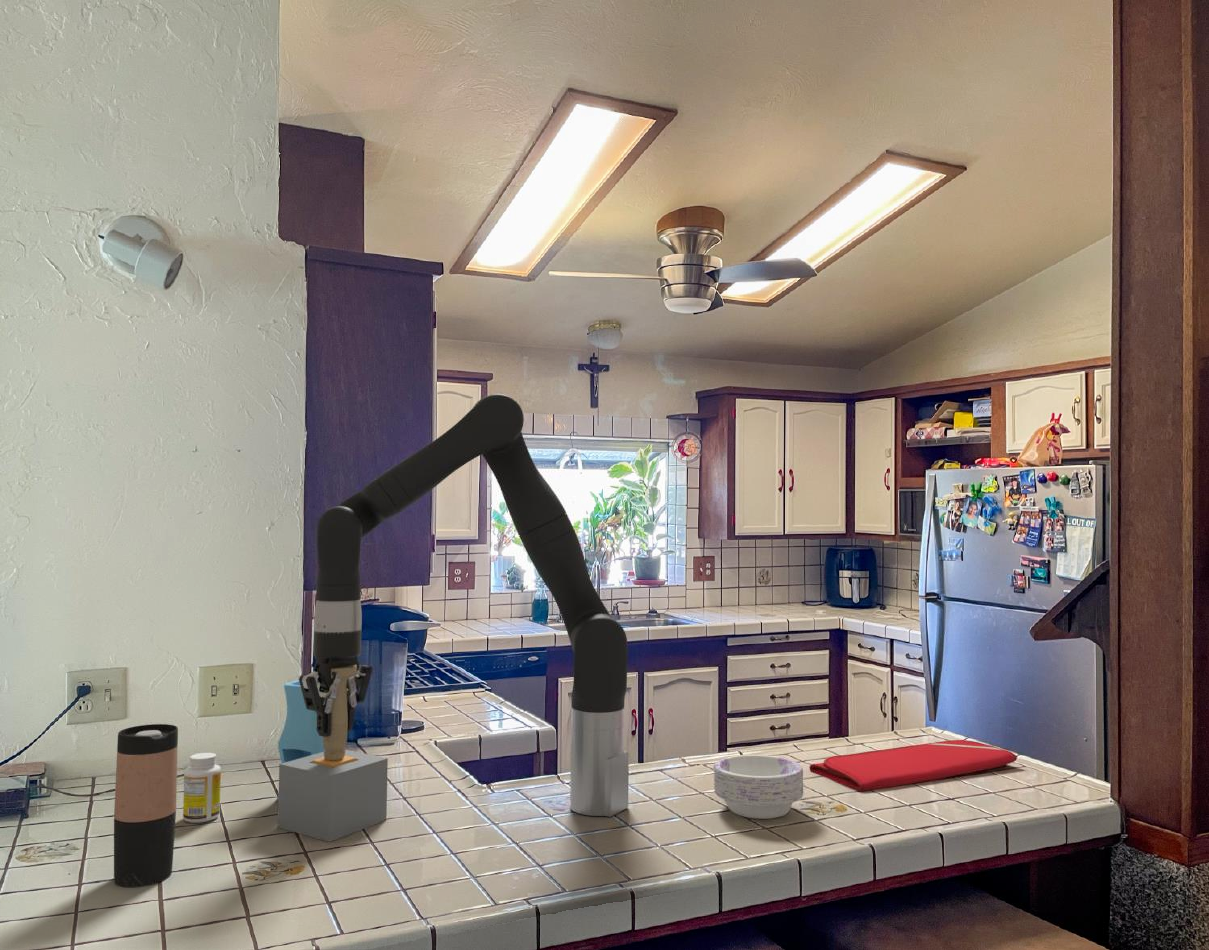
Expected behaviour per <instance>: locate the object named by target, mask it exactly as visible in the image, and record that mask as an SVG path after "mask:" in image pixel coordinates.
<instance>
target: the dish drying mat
mask: <svg viewBox="0 0 1209 950" xmlns="http://www.w3.org/2000/svg"><path fill="white" fill-rule="evenodd" d="M1017 759H1018V756H1017V755H1016V754H1015V753H1014V752H1012V751H1010V750H1006V749H1004V748H1002V747H1001V748H1000V747H997V746H993V745H991V744H987V743H983V742H980V741H979V742H978V741H975V740H974V741H973V740H969V739H968V740H967V739H953V740H950V739H949V740H943V741H935V742H929V743H922V744H913V745H908V746H907V745H906V746H901V747H893V748H888V749H880V750H879V749H878V750H872V751H866V752H859V753H858V752H857V753H851V754H844V755H834V756H829V757H827V758H824V761H823V762H820V763H812V764H810V765H809V771H810V772H811V773H814V774H817V775H819V776H822V777H824V778H827V779H829V780H831V781H833V782H836V783H838V784H841V785H842V786H843V785H844V786H845V787H848V788H850V789H853V790H854V791H856V792H864V791H873V790H879V789H885V788H891V787H893V788H894V787H899V786H904V785H911V784H915V783H922V782H928V781H935V780H939V779H944V778H945V779H946V778H950V777H954V776H959V775H965V774H970V773H975V772H979V771H986V770H992V769H995V768H998V767H1003V766H1006V765H1010V764H1012V763H1014V762H1017Z"/></svg>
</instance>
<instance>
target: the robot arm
mask: <svg viewBox="0 0 1209 950" xmlns="http://www.w3.org/2000/svg"><path fill="white" fill-rule="evenodd" d="M524 419H525V418H524V412H523V409H522V407H521V405H520V404H519V403H518V402H517V401H516V400H515V399H514V398H513V397H511V396H508V395H505V394H502V393H495V394H489V395H486V396H483V397H482V398H481V399H479V400H478V401H477V402H476V403H475V404H474V405H473V407H472V409H470V410H469V411H468V412H467V413H466V414H465V415H463V417H462V418H461V419H460V420H459V421H457V423H455V424H454V425H453V426H452V427H450V428H449V429H448V430H447V431H446V432H444V433H442V434H441V435H440V436H439V437H437V438H436V439H435V440H433V441H431V442H430V443H429V444H427V445H425V446H424V447H421V449H419V450H417V451H415V452H414V453H413V454H411V455H409V456H408V457H406V458H404V459H403V460H402V461H400V462H398V463H397V464H395V465H393V466H392V467H391V468H389V469H387V470H385V471H384V472H383V473H381V474H380V475H378V476H377V477H376V478H374V479H373V480H371V481H370V482H368V483H367V484H365V486H364V487H363V488H362V489H361V490H360V491H359V492H358V491H357V492H356V493H355V494H353V495H352V496H350V497H348V498H347V499H345V500H343V501H342V502H340V503H338V504H337V505H335V506H333V507H330V508H328V509H326V510H325V511H324V512H322V514H321V515H320V516H319V519H318V521H317V525H316V549H317V550H316V553H317V564H318V565H317V578H316V593H315V594H316V595H315V596H316V598H315V599H316V600H315V601H316V602H315V608H314V617H313V620H314V621H313V653H312V654H313V656H314V658H315V665H314V668H313V671H312V672H311V673H309V674H307V675H305V674H301V675H300V676H299V678H298V680H299V682H300V686H301V690H302V694H303V697H304V701H305V705H306V708H307V709H308V710H312V711H315V712H316V713H317V733H318V734H319V736H323V737H328V736H330V735H331V713H330V711H331V708H332V703H333V700H334V699H335V698H336V695H337V690H338V686H339V682H340V680H341V678H339V677H338V671H337V672H332V676H333V678H331V669H333V668H339V667H345V666H350V665H357V672H356V674H355V675H353V676H352V677H350V678H349V679H348V680H347V713H348V730H347V731H348V732H350V731H352V730H353V728H354V725H355V708H356V707H357V705H358V704H359V703H363V702H364V701H365V699H366V697H367V696H366V695H367V692H368V687H369V684H370V679H371V677H372V673H373V667H372V666H369V665H363V664H360V661H359V659H358V658H359V656H361V654H362V624H363V622H362V620H363V619H362V618H363V616H362V615H363V614H362V613H363V611H362V604H361V599H362V598H361V596H362V595H361V594H362V593H361V592H362V589H361V588H362V587H361V586H362V578H361V577H362V576H361V570H360V569H361V568H360V560H361V559H360V557H361V545H362V544H361V542H362V541H361V540H362V539H363V537H365V536H366V535H368V534H369V533H371V532H372V531H373V530H374V529H376V528H377V527H378V526H379V525H381V524H382V523H384V522H386V521H387V520H389V519H391V518H393V517H395V516H397V515H398V514H400V513H402V511H404V510H406V509H407V508H409V507H410V506H411V505H413V504H414V503H415V502H417V501H419V500H420V499H421V498H423V497H424V496H425V495H427V494H428V493H429V492H431V491H432V490H433V489H434V488H436V487H437V486H439V484H441V483H442V482H443V481H444V480H446V479H447V478H448V477H449V476H450V475H452V474H454V472H456V471H457V470H458V469H460V468H461V467H463V466H464V465H466V464H468V463H469V462H471V461H473V460H474V459H477V458H478V457H480V456H481V455H482V456H483V459H484V460H485V461H486V463H487V465H488V467H489V469H490V470H491V472H492V474H493V475H494V478H495V479H496V482H497V484H498V485H499V488H500V491H501V494H502V497H503V500H504V502H505V505H506V508H507V511H508V512H509V515H510V518H511V521H512V522H513V525H514V527H515V530H516V532H517V534H518V537H519V539H520V541H521V543H522V545H523V547H524V549H525V551H526V554H527V556H528V557H529V559H530V560H531V563H532V565H533V567H534V568H535V570H536V572H537V573H538V575H539V576H540V578H541V580H542V582H543V583H544V584H545V585H546V588H547V589H548V590H549V592H550V594H551V595H552V597H553V599H554V602H555V603H556V606H557V608H558V611H559V613H560V615H561V618H562V621H563V623H564V626H565V629H566V632H567V635H568V639H569V641H570V646H571V649H572V651H573V684H572V691H571V695H570V696H571V704H570V705H571V709H570V712H571V716H570V719H571V720H570V724H571V725H570V727H571V728H570V795H569V796H570V798H569V799H570V801H569V803H570V807H569V808H570V810H571V811H573V812H575V813H577V814H580V815H584V816H591V817H592V816H594V817H598V816H599V817H600V816H601V817H604V816H605V817H608V818H609V817H613V816H614V815H617V814H618V813H620V812H622V811H624V810H626V809H628V808H629V778H630V777H629V774H630V772H629V771H630V769H629V767H630V766H629V765H630V764H629V763H630V762H629V761H630V760H629V757H630V755H629V752H628V751H627V750H625V698H626V693H627V687H628V657H629V656H628V649H629V647H628V646H629V645H628V639H627V634H626V631H625V629H624V628H623V626H622V625H621V624H620V623H619V622H618V621H617V620H616V619H614V618H613V617H612V615H611V614H610V612H609V611H608V609H607V607H606V606H605V604H604V603H603V601H602V599H601V597H600V595H599V594H598V592H597V590H596V588H595V587H594V584H593V581H592V580H591V577H590V574H589V571H588V566H587V563H586V559H585V556H584V552H583V548H582V546H581V543H580V541H579V538H578V535H577V533H576V531H575V528H574V526H573V524H572V522H571V520H570V518H569V515H568V513H567V511H566V509H565V507H564V505H563V504H562V502H561V501H560V498H558V496H557V495H556V492H554V490H553V489H552V487H551V486H550V484H549V483H548V482H547V481H546V479H545V478H544V476H543V475H542V473H540V471H539V469H538V468H537V467H536V464H535V462H534V461H533V459H532V457H531V454H530V452H529V449H528V447H527V444H526V440H525V438H524V435H523V428H524V422H525V420H524ZM317 686H318V687H317ZM325 690H327V691H329V692H328V693H325ZM324 700H325V704H324Z"/></svg>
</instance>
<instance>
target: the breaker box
mask: <svg viewBox="0 0 1209 950" xmlns="http://www.w3.org/2000/svg"><path fill="white" fill-rule="evenodd" d="M345 756H349V757H354V758H356V761H354V762H350V763H347V764H344V765H340V766H337V767H334V768H332V767H327V766H323V765H318V764H314V763H313V760H315V759H319V758H322V757H324V752H321V753H318V754H314V755H310V756H307V757H303V758H299V759H296V760H292V761H288V762H285V763H281V762H280V763H279V768H278V769H279V770H278V793H279V797H278V796H277V797H278V799H277V801H278V805H277V828H280V829H283V830H286V831H290V832H293V833H297V834H299V835H300V834H301V835H304V836H306V837H307V836H308V837H310V838H314V839H318V840H321V841H325V842H332V841H335V840H338V839H341V838H343V837H345V836H348V835H352V834H354V833H356V832H358V831H362V830H363V829H367V828H368V827H369V828H370V827H371V826H373V825H377V824H379V823H382V822H385V821H387V815H388V813H387V809H388V808H387V807H388V767H389V766H388V763H389V760H388V758H387V757H383V756H378V755H374V754H373V755H372V754H368V753H365V752H364V753H363V752H359V751H358V752H357V751H354V750H353V751H352V750H349V749H345Z"/></svg>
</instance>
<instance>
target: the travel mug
mask: <svg viewBox="0 0 1209 950" xmlns="http://www.w3.org/2000/svg"><path fill="white" fill-rule="evenodd" d="M178 731H179V729H178V726H176V725H173V724H168V723H167V724H166V723H165V724H164V723H154V724H153V723H152V724H143V725H137V726H130V727H127V728H124V729H121V730H120V731H118V733H117V742H116V743H117V746H116V747H117V748H116V750H117V751H116V765H115V766H116V769H115V789H114V814H113V818H114V819H113V881H114V883H115V885H117V886H119V887H123V888H139V887H146V886H151V885H154V884H158V883H160V882H162V881H165V880H166V879H167V878H170V877H171V875H172V873H173V863H174V848H175V846H174V845H175V833H176V831H175V830H176V818H177V791H178V790H177V789H178V788H177V787H178V786H177V785H178V743H179V742H178V741H179V739H178V737H179V732H178Z"/></svg>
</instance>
